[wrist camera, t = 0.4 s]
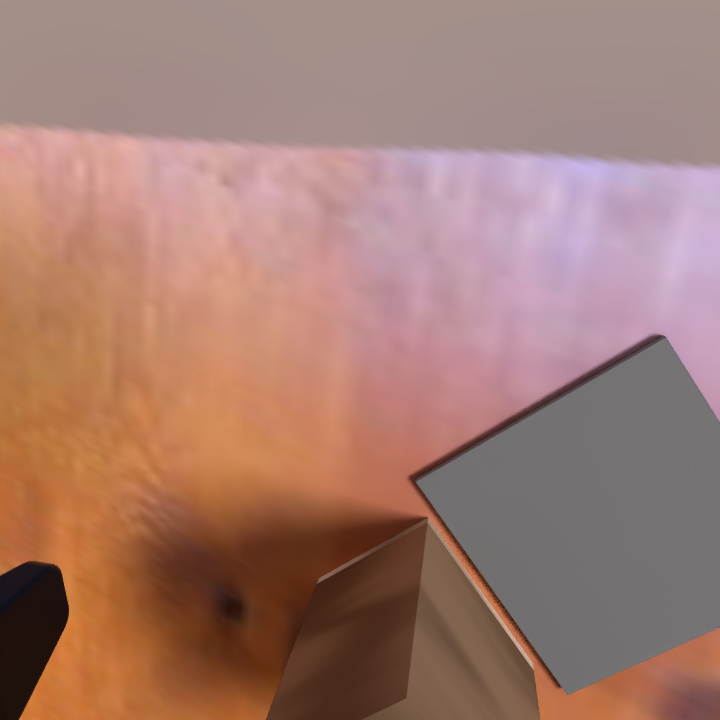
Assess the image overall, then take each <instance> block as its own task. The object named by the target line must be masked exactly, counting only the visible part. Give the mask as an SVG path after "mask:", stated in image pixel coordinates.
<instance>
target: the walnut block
mask: <svg viewBox="0 0 720 720" xmlns="http://www.w3.org/2000/svg"><path fill="white" fill-rule="evenodd" d="M266 720H540V715H539V707H538V699H537V692H536V684H535V676H534V669H533V663H532V662H531V660H530V659H529V657H528V656H527V655H526V653H525V652H524V650H523V649H522V648H521V646H520V645H519V643H518V642H517V641H516V639H515V638H514V636H513V635H512V634H511V632H510V631H509V629H508V628H507V627H506V625H505V624H504V622H503V621H502V620H501V618H500V617H499V615H498V614H497V613H496V611H495V610H494V608H493V607H492V606H491V604H490V603H489V601H488V600H487V599H486V597H485V596H484V594H483V593H482V592H481V590H480V589H479V587H478V586H477V585H476V583H475V582H474V580H473V579H472V578H471V576H470V575H469V573H468V572H467V571H466V569H465V568H464V566H463V565H462V564H461V562H460V561H459V559H458V558H457V557H456V555H455V554H454V552H453V551H452V550H451V548H450V547H449V545H448V544H447V543H446V541H445V540H444V539H443V537H442V536H441V534H440V533H439V532H438V530H437V529H436V527H435V526H434V525H433V523H432V522H431V520H430V519H429V518H426V519H424V520H422V521H421V522H419V523H417V524H415V525H413V526H412V527H410V528H408V529H406V530H404V531H403V532H401V533H399V534H397V535H395V536H394V537H392V538H390V539H388V540H386V541H385V542H383V543H381V544H379V545H378V546H376V547H374V548H372V549H370V550H369V551H367V552H365V553H363V554H361V555H360V556H358V557H356V558H354V559H352V560H351V561H349V562H347V563H345V564H343V565H342V566H340V567H338V568H336V569H334V570H333V571H331V572H329V573H327V574H325V575H324V576H322V577H320V578H319V579H318V582H317V585H316V587H315V590H314V593H313V595H312V598H311V601H310V603H309V606H308V609H307V611H306V614H305V617H304V619H303V622H302V625H301V627H300V630H299V633H298V635H297V638H296V641H295V643H294V646H293V649H292V651H291V654H290V657H289V659H288V662H287V665H286V667H285V670H284V673H283V675H282V678H281V681H280V683H279V686H278V689H277V691H276V694H275V697H274V699H273V702H272V705H271V707H270V710H269V713H268V715H267V718H266Z"/></svg>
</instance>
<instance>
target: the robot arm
mask: <svg viewBox="0 0 720 720" xmlns="http://www.w3.org/2000/svg"><path fill="white" fill-rule="evenodd" d="M68 616H69V606H68V601H67V596H66V591H65V587H64V582H63V577H62V573H61V570H60V569H59V567H58V566H57V565H54V564H50V563H44V562H38V561H28V562H25V563H23V564H21V565H19V566H17V567H15V568H13V569H12V570H10V571H8V572H6V573H4V574H2V575H0V720H19V719H20V717H21V715H22V713H23V711H24V709H25V707H26V705H27V703H28V701H29V699H30V697H31V695H32V693H33V691H34V689H35V687H36V685H37V683H38V681H39V679H40V677H41V675H42V673H43V671H44V669H45V667H46V665H47V663H48V661H49V659H50V657H51V655H52V653H53V651H54V649H55V647H56V645H57V643H58V641H59V639H60V636H61V634H62V632H63V630H64V628H65V626H66V623H67V620H68Z"/></svg>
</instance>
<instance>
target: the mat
mask: <svg viewBox="0 0 720 720" xmlns="http://www.w3.org/2000/svg"><path fill="white" fill-rule="evenodd" d="M416 483H417V485H418V486H419V487H420V489H421V490H422V492H423V493H424V494H425V496H426V497H427V499H428V500H429V501H430V503H431V504H432V506H433V507H434V508H435V510H436V511H437V513H438V514H439V515H440V517H441V518H442V520H443V521H444V522H445V524H446V525H447V527H448V528H449V529H450V531H451V532H452V534H453V535H454V536H455V538H456V539H457V541H458V542H459V544H460V545H461V546H462V548H463V549H464V551H465V552H466V553H467V555H468V556H469V558H470V559H471V560H472V562H473V563H474V565H475V566H476V567H477V569H478V570H479V572H480V573H481V574H482V576H483V577H484V579H485V580H486V581H487V583H488V584H489V586H490V587H491V588H492V590H493V591H494V593H495V594H496V595H497V597H498V598H499V600H500V601H501V603H502V604H503V605H504V607H505V608H506V610H507V611H508V612H509V614H510V615H511V617H512V618H513V619H514V621H515V622H516V624H517V625H518V626H519V628H520V629H521V631H522V632H523V633H524V635H525V636H526V638H527V639H528V640H529V642H530V643H531V645H532V646H533V647H534V649H535V650H536V652H537V653H538V654H539V656H540V657H541V659H542V660H543V662H544V663H545V664H546V666H547V667H548V669H549V670H550V671H551V673H552V674H553V676H554V677H555V678H556V680H557V681H558V683H559V684H560V685H561V687H562V688H563V690H564V691H565V692H566V694H567V695H569V694H571V693H573V692H575V691H578V690H580V689H582V688H584V687H587V686H589V685H591V684H593V683H596V682H598V681H600V680H602V679H605V678H607V677H609V676H611V675H614V674H616V673H618V672H620V671H623V670H625V669H627V668H629V667H632V666H634V665H636V664H638V663H641V662H643V661H645V660H648V659H650V658H652V657H654V656H657V655H659V654H661V653H663V652H666V651H668V650H670V649H672V648H675V647H677V646H679V645H681V644H684V643H686V642H688V641H690V640H693V639H695V638H697V637H699V636H702V635H704V634H706V633H708V632H711V631H713V630H715V629H717V628H720V422H719V420H718V419H717V417H716V416H715V414H714V412H713V411H712V409H711V408H710V406H709V404H708V403H707V401H706V400H705V398H704V397H703V395H702V393H701V392H700V390H699V389H698V387H697V385H696V384H695V382H694V381H693V379H692V378H691V376H690V374H689V373H688V371H687V370H686V368H685V366H684V365H683V363H682V362H681V360H680V359H679V357H678V355H677V354H676V352H675V351H674V349H673V348H672V346H671V344H670V343H669V341H668V340H667V338H666V337H665V336H664V335H663V336H662V337H660V338H658V339H656V340H655V341H653V342H651V343H649V344H648V345H646V346H644V347H643V348H641V349H639V350H637V351H636V352H634V353H632V354H630V355H629V356H627V357H625V358H624V359H622V360H620V361H618V362H617V363H615V364H613V365H611V366H610V367H608V368H606V369H605V370H603V371H601V372H599V373H598V374H596V375H594V376H592V377H591V378H589V379H587V380H586V381H584V382H582V383H580V384H579V385H577V386H575V387H573V388H572V389H570V390H568V391H567V392H565V393H563V394H561V395H560V396H558V397H556V398H554V399H553V400H551V401H549V402H548V403H546V404H544V405H542V406H541V407H539V408H537V409H535V410H534V411H532V412H530V413H529V414H527V415H525V416H523V417H522V418H520V419H518V420H516V421H515V422H513V423H511V424H510V425H508V426H506V427H504V428H503V429H501V430H499V431H497V432H496V433H494V434H492V435H491V436H489V437H487V438H485V439H484V440H482V441H480V442H478V443H477V444H475V445H473V446H472V447H470V448H468V449H466V450H465V451H463V452H461V453H459V454H458V455H456V456H454V457H452V458H451V459H449V460H447V461H446V462H444V463H442V464H440V465H439V466H437V467H435V468H433V469H432V470H430V471H428V472H427V473H425V474H423V475H421V476H420V477H418V478H416Z"/></svg>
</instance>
